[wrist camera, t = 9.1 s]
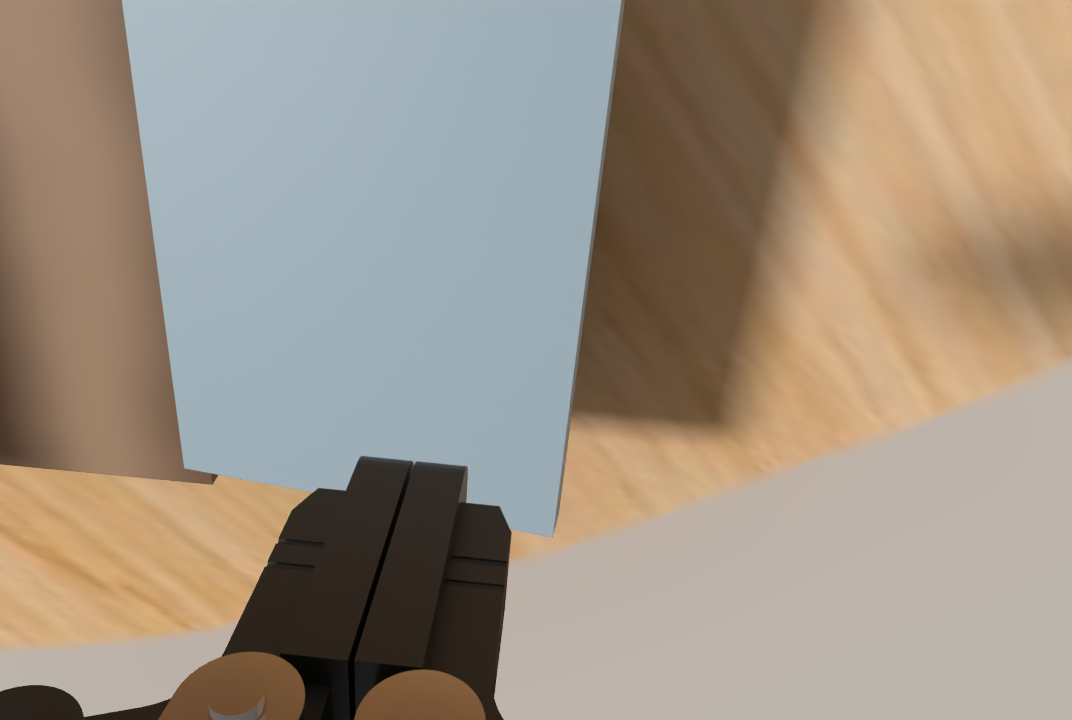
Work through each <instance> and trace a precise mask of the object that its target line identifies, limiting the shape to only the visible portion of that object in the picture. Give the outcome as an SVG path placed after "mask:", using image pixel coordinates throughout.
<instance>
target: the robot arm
mask: <svg viewBox="0 0 1072 720" xmlns="http://www.w3.org/2000/svg"><path fill="white" fill-rule="evenodd" d="M467 482H468V467H467V466H459V465H450V464H440V463H430V462H420V461H416V462H415V464H414V462H413V461H408V460H398V459H389V458H379V457H369V456H361V457H360V458H359V460H358V462H357V464H356V467H355V469H354V471H353V474H352V476H351V479H350V481H349V484H348V486H347V489H346V491H345V490H335V489H325V488H318V489H317V490H315V491H314V492H313V493H312V494H311V495H309V496H308V497H307V498H306V499H305V500H304V501H302V502H301V503H300V504H299V505H298V506H297V507H295V508H294V509H293V510H292V511H291V514H290V516H289V518H288V520H287V522H286V524H285V526H284V528H283V530H282V532H281V534H280V537H279V542H278V544H276V545H275V547H274V549H273V551H272V553H271V555H270V557H269V560H268V565H267V567H265V568H264V570H263V572H262V574H261V576H260V578H259V580H258V582H257V585H256V587H255V589H254V591H253V593H252V595H251V597H250V599H249V601H248V603H247V605H246V608H245V610H244V612H243V614H242V616H241V618H240V620H239V622H238V624H237V626H236V628H235V630H234V633H233V635H232V637H231V639H230V641H229V643H228V645H227V647H226V649H225V651H224V653H223V655H222V657H220V658H217V659H215V660H213V661H210V662H208V663H207V664H205V665H203V666H202V667H200V668H198V669H197V670H196V671H195V672H193V673H192V674H191V675H189V676H188V678H186V679H185V681H183V682H182V683H181V685H180V686H179V688H178V689H177V690H176V692H175V693H174V695H173V696H172V698H171V699H168V700H165V701H163V702H160V703H157V704H153V705H150V706H145V707H141V708H134V709H129V710H123V711H118V712H111V713H106V714H100V715H94V716H88V717H84V716H83V712H82V709H81V707H80V705H79V703H78V702H77V700H75V698H74V697H73V696H71V695H70V694H68V693H66V692H65V691H63V690H61V689H58V688H54V687H50V686H43V685H29V686H22V687H15V688H11V689H7V690H4V691H1V692H0V720H503V718H502V716H501V714H500V713H499V711H498V709H497V706H496V703H495V700H494V694H495V685H496V677H497V668H498V661H499V652H500V643H501V636H502V628H503V619H504V611H505V599H506V588H507V576H508V566H509V554H510V543H511V530H510V528H509V526H508V524H507V522H506V519H505V517H504V515H503V513H502V510H501V508H500V506H493V505H484V504H474V503H466V501H467Z"/></svg>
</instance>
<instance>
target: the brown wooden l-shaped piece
mask: <svg viewBox="0 0 1072 720" xmlns="http://www.w3.org/2000/svg"><path fill="white" fill-rule="evenodd" d="M0 464H3V465H13V466H24V467H34V468H44V469H55V470H65V471H76V472H86V473H97V474H107V475H118V476H128V477H139V478H149V479H160V480H170V481H181V482H191V483H201V484H213V483H214V481H215V479H216V478H217V476H218V475H217V474H212V473H207V472H201V471H196V470H191V469H185V468H184V463H183V455H182V448H181V440H180V433H179V425H178V418H177V410H176V403H175V395H174V388H173V380H172V373H171V365H170V358H169V350H168V343H167V335H166V328H165V320H164V313H163V305H162V298H161V290H160V283H159V275H158V268H157V260H156V253H155V245H154V238H153V230H152V223H151V215H150V208H149V200H148V193H147V185H146V178H145V170H144V163H143V155H142V148H141V140H140V133H139V125H138V118H137V110H136V103H135V95H134V88H133V80H132V73H131V65H130V58H129V50H128V43H127V35H126V28H125V20H124V13H123V5H122V0H0Z"/></svg>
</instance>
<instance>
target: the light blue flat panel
mask: <svg viewBox="0 0 1072 720" xmlns="http://www.w3.org/2000/svg"><path fill="white" fill-rule="evenodd" d="M122 5H123V13H124V20H125V28H126V35H127V43H128V50H129V58H130V65H131V73H132V80H133V88H134V95H135V103H136V110H137V118H138V125H139V133H140V140H141V148H142V155H143V163H144V170H145V178H146V185H147V193H148V200H149V208H150V215H151V223H152V230H153V238H154V245H155V253H156V260H157V268H158V275H159V283H160V290H161V298H162V305H163V313H164V320H165V328H166V335H167V343H168V350H169V358H170V365H171V373H172V380H173V388H174V395H175V403H176V410H177V418H178V425H179V433H180V440H181V448H182V455H183V463H184V468H185V469H191V470H196V471H201V472H207V473H212V474H217V475H223V476H228V477H233V478H239V479H244V480H249V481H255V482H260V483H265V484H271V485H276V486H281V487H287V488H292V489H297V490H303V491H308V492H314V491H315V490H317V489H318V488H325V489H335V490H345V491H346V489H347V486H348V484H349V481H350V479H351V476H352V474H353V471H354V469H355V467H356V464H357V462H358V460H359V458H360V457H361V456H369V457H379V458H389V459H398V460H408V461H413V462H414V464H415V462H416V461H420V462H430V463H440V464H450V465H459V466H467V467H468V482H467V501H466V503H474V504H484V505H493V506H500V508H501V510H502V513H503V515H504V517H505V519H506V522H507V524H508V526H509V528H510V530H516V531H521V532H526V533H532V534H537V535H542V536H547V537H553V534H554V530H555V526H556V522H557V518H558V514H559V507H560V499H561V492H562V484H563V476H564V469H565V461H566V453H567V445H568V438H569V430H570V422H571V415H572V407H573V399H574V391H575V384H576V376H577V368H578V361H579V353H580V345H581V337H582V330H583V322H584V314H585V307H586V299H587V291H588V283H589V276H590V268H591V260H592V253H593V245H594V237H595V229H596V222H597V214H598V206H599V199H600V191H601V183H602V175H603V168H604V160H605V152H606V145H607V137H608V129H609V121H610V114H611V106H612V98H613V91H614V83H615V75H616V68H617V60H618V52H619V44H620V37H621V29H622V21H623V14H624V6H625V0H122Z"/></svg>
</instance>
